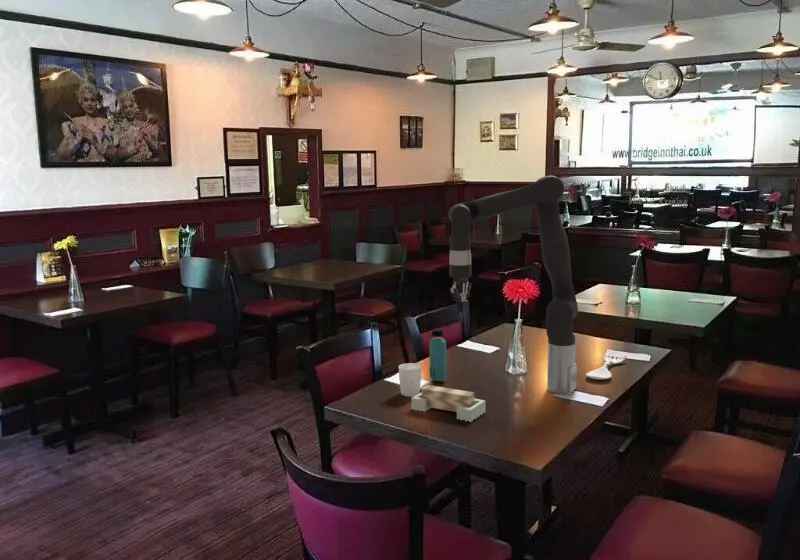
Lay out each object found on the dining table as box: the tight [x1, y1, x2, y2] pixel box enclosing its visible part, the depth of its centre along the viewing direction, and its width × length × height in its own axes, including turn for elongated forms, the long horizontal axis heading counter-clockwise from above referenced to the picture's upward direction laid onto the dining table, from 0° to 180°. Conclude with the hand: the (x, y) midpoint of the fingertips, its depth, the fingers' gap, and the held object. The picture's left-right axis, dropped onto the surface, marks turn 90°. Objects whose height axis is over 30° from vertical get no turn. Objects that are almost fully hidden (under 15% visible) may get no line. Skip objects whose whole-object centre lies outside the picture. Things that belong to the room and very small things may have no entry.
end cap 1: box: [411, 391, 432, 413], centre depth 222 cm, size 5×10×4 cm, turn 146°
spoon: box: [585, 352, 628, 381], centre depth 256 cm, size 9×32×3 cm, turn 149°
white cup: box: [398, 362, 422, 397], centre depth 234 cm, size 8×8×10 cm
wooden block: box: [421, 384, 475, 413], centre depth 217 cm, size 17×4×6 cm, turn 60°
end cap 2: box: [456, 397, 486, 423], centre depth 212 cm, size 5×10×4 cm, turn 146°
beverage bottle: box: [428, 328, 448, 381], centre depth 245 cm, size 6×7×20 cm
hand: (460, 311), depth 232 cm, fingers closed
